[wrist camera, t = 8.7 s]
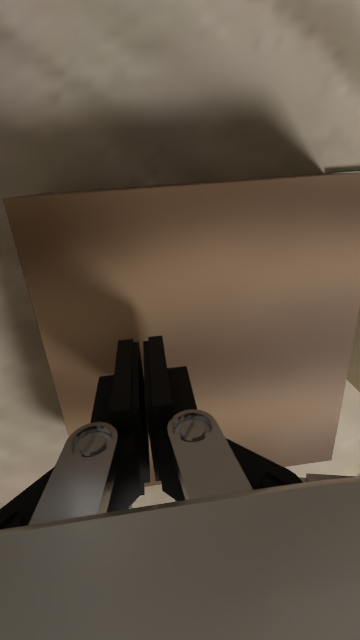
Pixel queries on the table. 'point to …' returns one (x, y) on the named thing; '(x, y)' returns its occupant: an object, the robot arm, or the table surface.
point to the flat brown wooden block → (205, 297)
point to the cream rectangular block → (355, 358)
